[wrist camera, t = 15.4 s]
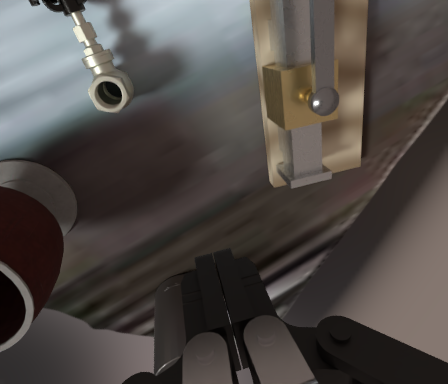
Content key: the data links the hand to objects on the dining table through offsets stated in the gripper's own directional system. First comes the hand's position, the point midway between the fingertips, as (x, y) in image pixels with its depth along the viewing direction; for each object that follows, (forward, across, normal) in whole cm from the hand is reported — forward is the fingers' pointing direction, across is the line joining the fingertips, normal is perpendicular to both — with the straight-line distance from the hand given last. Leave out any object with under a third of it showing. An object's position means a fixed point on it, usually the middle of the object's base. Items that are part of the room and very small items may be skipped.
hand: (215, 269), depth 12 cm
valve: (+29, +6, -9) cm, 31 cm away
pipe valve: (+27, -14, -1) cm, 30 cm away
